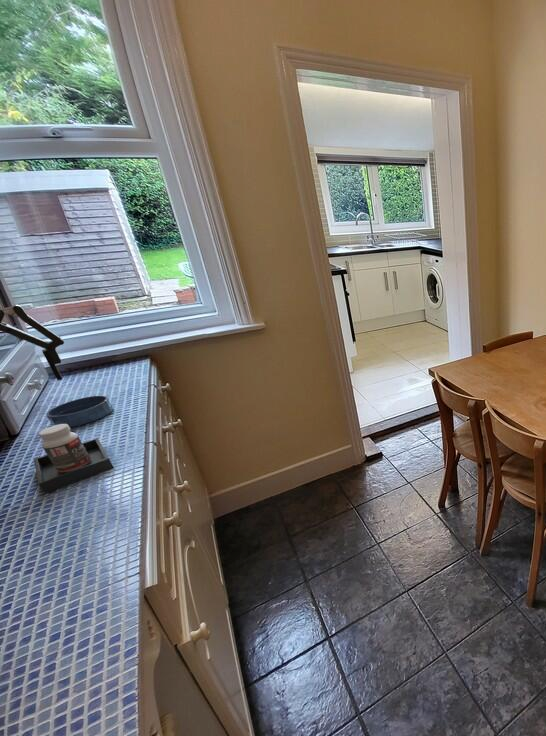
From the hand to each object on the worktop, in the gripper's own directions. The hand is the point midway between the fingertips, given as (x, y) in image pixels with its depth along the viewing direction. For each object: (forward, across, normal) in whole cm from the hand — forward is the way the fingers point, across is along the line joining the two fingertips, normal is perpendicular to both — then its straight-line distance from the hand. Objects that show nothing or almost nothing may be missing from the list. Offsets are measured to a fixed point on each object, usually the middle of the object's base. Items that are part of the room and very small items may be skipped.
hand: (13, 389), depth 85 cm
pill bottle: (+20, +2, -1) cm, 21 cm away
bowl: (+21, +7, +34) cm, 41 cm away
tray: (+21, +2, 0) cm, 21 cm away
